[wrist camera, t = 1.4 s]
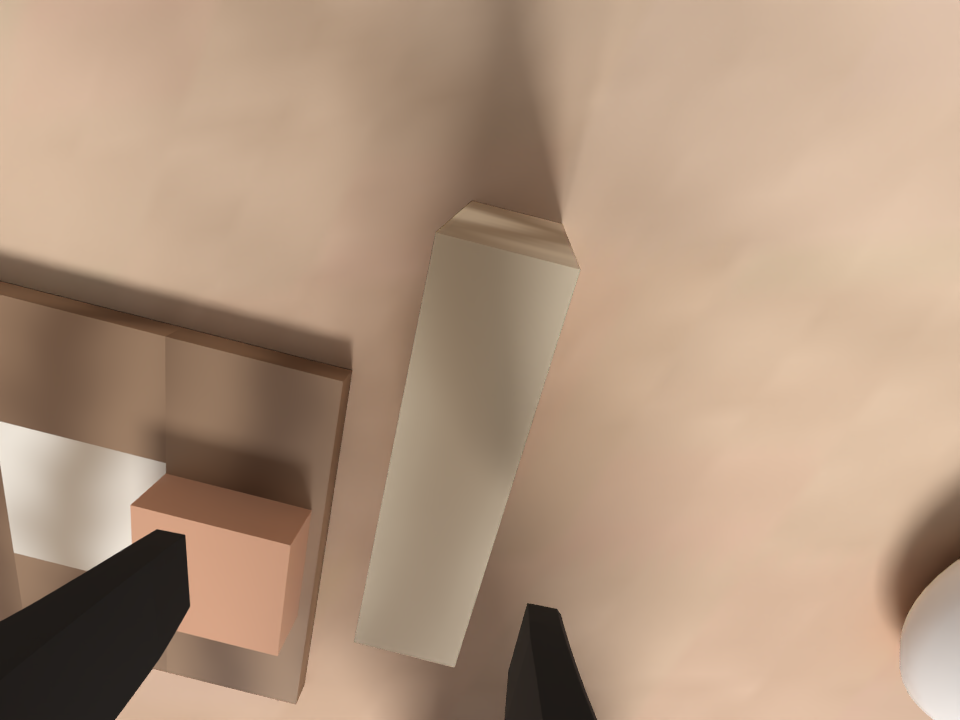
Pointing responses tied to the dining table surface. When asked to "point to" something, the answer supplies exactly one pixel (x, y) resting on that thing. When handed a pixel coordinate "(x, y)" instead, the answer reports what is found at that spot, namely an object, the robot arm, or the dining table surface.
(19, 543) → the brown wooden board
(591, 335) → the dining table surface
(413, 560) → the tall cream pillar
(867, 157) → the dining table surface
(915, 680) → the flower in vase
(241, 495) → the peach rectangular block
